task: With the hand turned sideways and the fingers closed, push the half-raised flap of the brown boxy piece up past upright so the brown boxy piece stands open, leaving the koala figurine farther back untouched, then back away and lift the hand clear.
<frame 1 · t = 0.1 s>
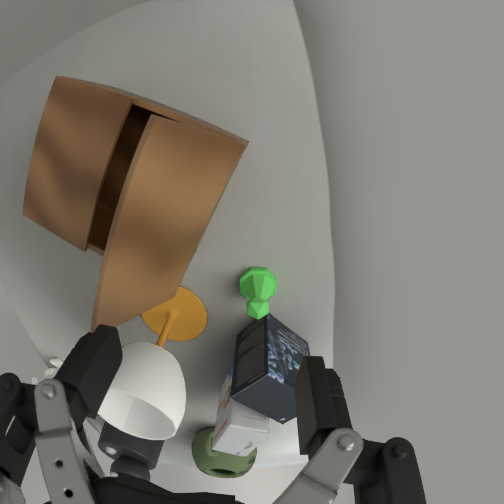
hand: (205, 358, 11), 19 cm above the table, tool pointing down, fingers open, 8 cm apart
ink box: (243, 374, 38), on the table
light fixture: (135, 422, 47), on the table
box: (272, 337, 35), on the table
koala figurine: (64, 366, 41), on the table
cup: (173, 312, 34), on the table
brown boxy piece: (147, 165, 26), on the table
game piece: (257, 282, 32), on the table
flap: (163, 236, 16), point 13 cm above the table, hinge at 65.0°
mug: (223, 433, 46), on the table
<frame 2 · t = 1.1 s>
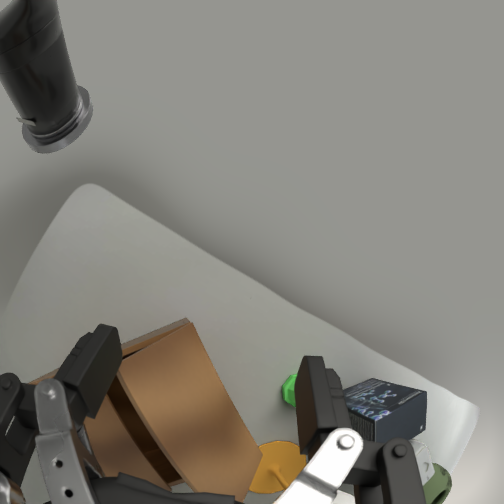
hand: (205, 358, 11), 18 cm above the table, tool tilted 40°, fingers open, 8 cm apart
ink box: (363, 444, 30), on the table
box: (349, 403, 31), on the table
cup: (272, 467, 27), on the table
brown boxy piece: (143, 400, 25), on the table
game piece: (297, 388, 30), on the table
flap: (205, 427, 15), point 13 cm above the table, hinge at 56.5°
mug: (404, 486, 31), on the table
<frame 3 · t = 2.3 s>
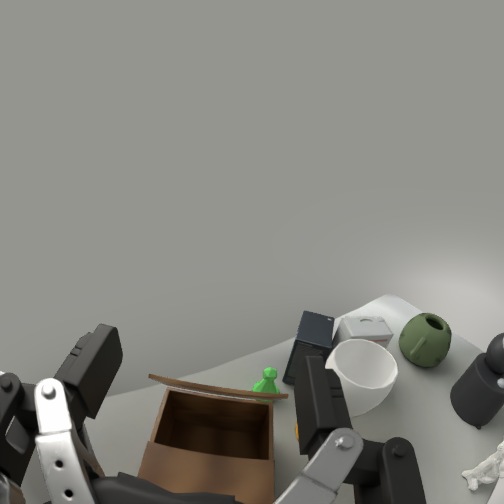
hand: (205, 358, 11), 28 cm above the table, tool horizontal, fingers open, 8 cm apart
ink box: (344, 373, 46), on the table
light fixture: (472, 404, 36), on the table
box: (301, 372, 46), on the table
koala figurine: (473, 479, 20), on the table
cup: (323, 431, 34), on the table
brown boxy piece: (209, 477, 26), on the table
game piece: (264, 393, 41), on the table
flap: (218, 391, 26), point 13 cm above the table, hinge at 56.5°
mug: (416, 355, 51), on the table
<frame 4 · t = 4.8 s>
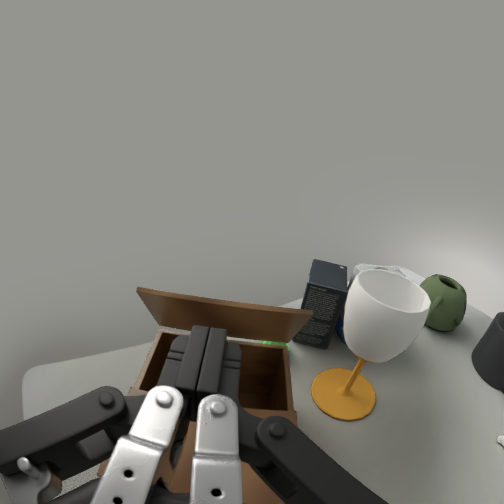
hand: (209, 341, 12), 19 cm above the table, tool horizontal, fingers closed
ink box: (359, 334, 43), on the table
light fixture: (495, 369, 33), on the table
box: (311, 331, 43), on the table
cup: (343, 394, 31), on the table
brown boxy piece: (209, 449, 22), on the table
flap: (223, 320, 23), point 13 cm above the table, hinge at 56.5°
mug: (431, 320, 48), on the table
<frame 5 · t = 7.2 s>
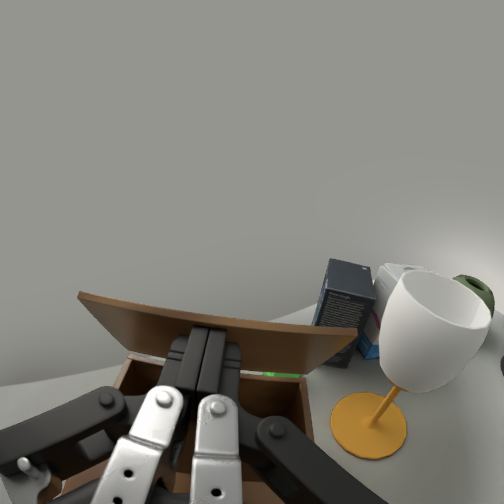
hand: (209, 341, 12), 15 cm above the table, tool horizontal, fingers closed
ink box: (382, 347, 34), on the table
box: (327, 346, 34), on the table
cup: (369, 425, 23), on the table
flap: (213, 347, 15), point 13 cm above the table, hinge at 60.1°, touching gripper
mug: (455, 326, 40), on the table
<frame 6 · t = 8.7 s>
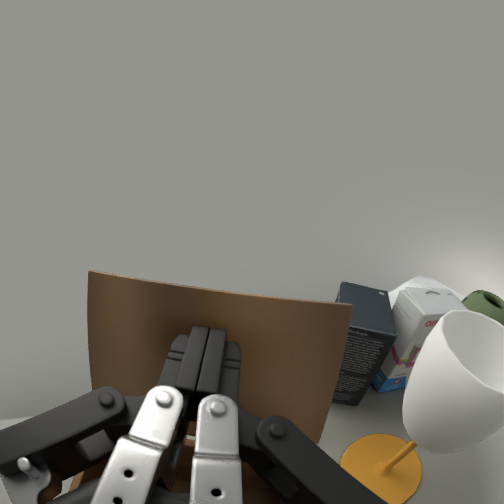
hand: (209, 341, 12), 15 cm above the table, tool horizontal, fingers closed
ink box: (395, 376, 29), on the table
box: (335, 379, 29), on the table
cup: (381, 471, 17), on the table
flap: (206, 373, 12), point 13 cm above the table, hinge at 112.7°, touching gripper
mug: (470, 346, 34), on the table
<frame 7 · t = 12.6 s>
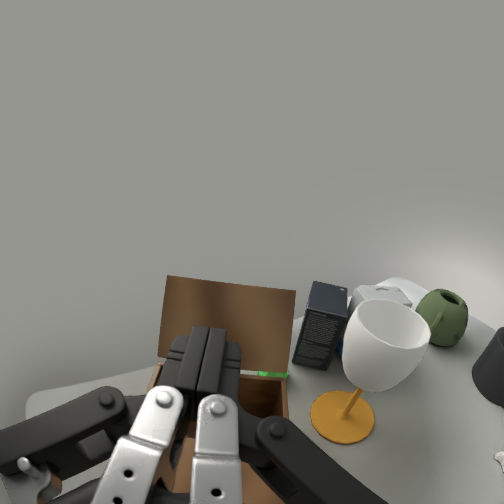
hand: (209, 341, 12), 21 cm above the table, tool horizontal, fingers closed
ink box: (359, 353, 42), on the table
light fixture: (495, 383, 32), on the table
box: (311, 352, 42), on the table
cup: (342, 417, 30), on the table
brown boxy piece: (210, 475, 21), on the table
game piece: (272, 375, 36), on the table
flap: (225, 325, 26), point 13 cm above the table, hinge at 126.4°
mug: (432, 335, 47), on the table
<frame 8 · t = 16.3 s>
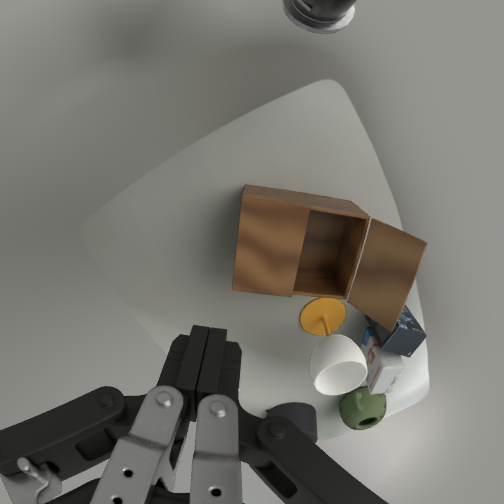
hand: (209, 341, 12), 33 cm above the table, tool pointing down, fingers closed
ink box: (370, 341, 54), on the table
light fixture: (289, 414, 65), on the table
box: (384, 309, 51), on the table
cup: (323, 315, 51), on the table
brown boxy piece: (293, 231, 44), on the table
flap: (384, 276, 33), point 13 cm above the table, hinge at 126.4°
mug: (358, 395, 62), on the table
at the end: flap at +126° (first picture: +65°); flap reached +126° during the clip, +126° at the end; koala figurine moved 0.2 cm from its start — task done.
